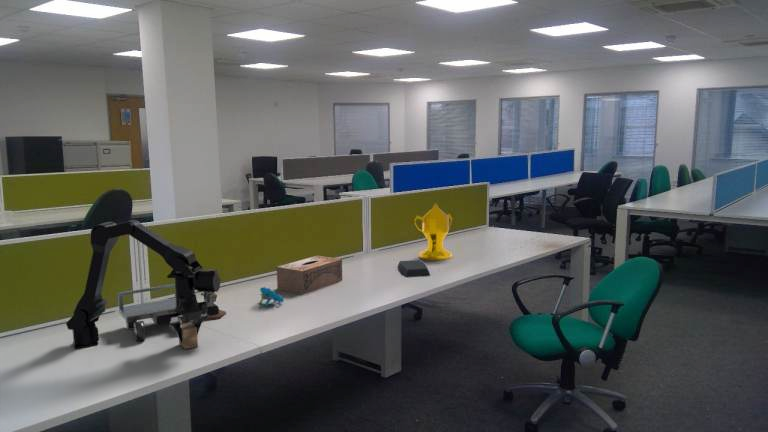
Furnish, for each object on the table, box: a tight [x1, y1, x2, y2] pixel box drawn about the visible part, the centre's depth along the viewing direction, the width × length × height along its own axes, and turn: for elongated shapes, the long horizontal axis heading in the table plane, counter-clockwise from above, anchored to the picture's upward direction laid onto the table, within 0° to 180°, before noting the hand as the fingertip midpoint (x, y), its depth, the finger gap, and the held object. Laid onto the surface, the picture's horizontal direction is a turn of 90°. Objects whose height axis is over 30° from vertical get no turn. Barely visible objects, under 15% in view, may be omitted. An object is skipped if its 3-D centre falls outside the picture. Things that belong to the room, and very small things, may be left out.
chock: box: [178, 322, 199, 350], centre depth 175 cm, size 4×6×6 cm, turn 35°
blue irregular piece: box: [258, 286, 285, 307], centre depth 217 cm, size 11×6×10 cm
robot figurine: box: [200, 292, 227, 322], centre depth 204 cm, size 11×9×12 cm
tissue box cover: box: [276, 255, 343, 295], centre depth 245 cm, size 26×14×10 cm, turn 145°
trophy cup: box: [413, 203, 453, 261], centre depth 296 cm, size 18×24×28 cm
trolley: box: [117, 283, 192, 342], centre depth 190 cm, size 20×20×12 cm
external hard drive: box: [397, 259, 431, 278], centre depth 267 cm, size 13×19×4 cm
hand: (188, 340), depth 176 cm, fingers closed on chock, 4 cm apart
